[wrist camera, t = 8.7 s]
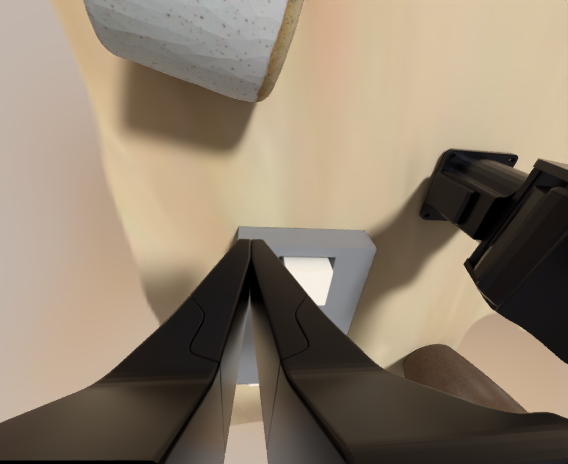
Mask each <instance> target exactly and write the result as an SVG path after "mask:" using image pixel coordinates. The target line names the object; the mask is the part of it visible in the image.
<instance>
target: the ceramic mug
mask: <svg viewBox="0 0 568 464" xmlns="http://www.w3.org/2000/svg"><path fill="white" fill-rule="evenodd" d="M303 1H304V0H84V4H85V8H86V11H87V14H88V17H89V19H90V21H91V24H92V26H93V28H94V31H95V33H96V35H97V37H98V39H99V40H100V42H101V43H102V45H103V46H104V47H105V48H106V49H107V50H108V51H110V52H111V53H112V54H114V55H116V56H119V57H122V58H124V59H127V60H130V61H133V62H136V63H139V64H141V65H144V66H147V67H149V68H152V69H154V70H157V71H160V72H162V73H165V74H168V75H170V76H173V77H176V78H179V79H181V80H184V81H187V82H190V83H193V84H196V85H199V86H202V87H204V88H207V89H209V90H212V91H214V92H217V93H219V94H222V95H225V96H228V97H231V98H234V99H238V100H244V101H248V102H260V101H263V100H264V99H265V98H267V97H268V96H269V95H270V93H271V91H272V90H273V88H274V85H275V83H276V81H277V79H278V76H279V74H280V72H281V69H282V67H283V64H284V61H285V58H286V55H287V53H288V50H289V47H290V44H291V41H292V39H293V36H294V33H295V29H296V26H297V22H298V19H299V16H300V12H301V8H302V4H303Z"/></svg>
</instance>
